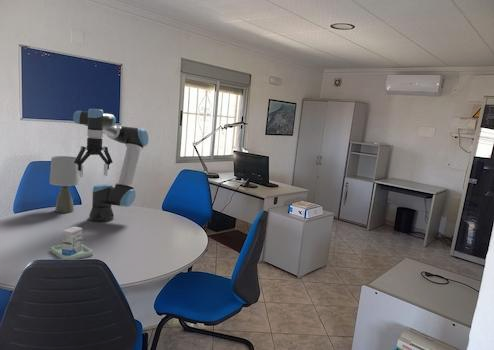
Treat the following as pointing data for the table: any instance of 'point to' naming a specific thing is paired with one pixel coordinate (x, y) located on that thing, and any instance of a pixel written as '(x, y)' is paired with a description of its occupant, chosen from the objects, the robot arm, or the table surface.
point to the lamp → (64, 181)
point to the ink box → (71, 240)
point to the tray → (81, 254)
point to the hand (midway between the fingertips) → (93, 176)
